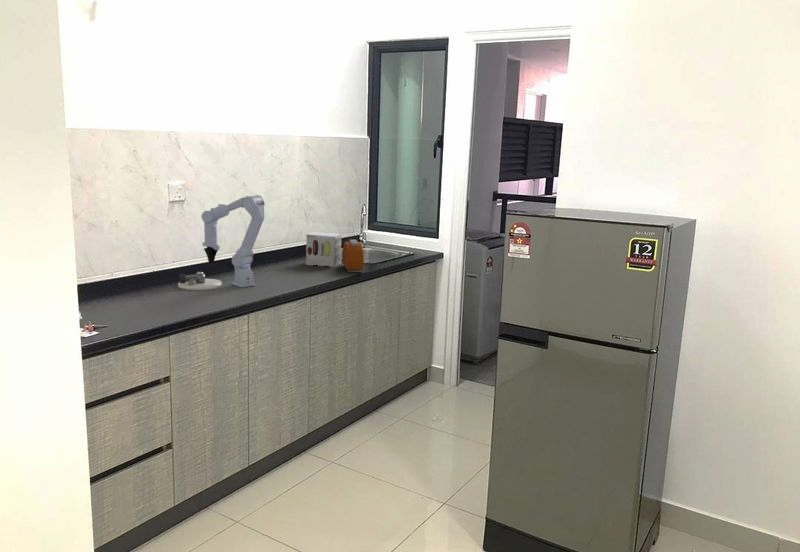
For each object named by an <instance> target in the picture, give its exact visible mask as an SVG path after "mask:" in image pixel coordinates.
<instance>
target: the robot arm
mask: <svg viewBox="0 0 800 552" xmlns="http://www.w3.org/2000/svg"><path fill="white" fill-rule="evenodd" d="M265 205H266V202H265V200H264V199H263V197H262V196H261V195H258V194H256V195H250V196H248V195H246V196H245V197H240V198H238V199H236V200H235V201H232V202H230V203H228V204H225V203H224V204H223V203H219V204H218V206H216V207H211V208H210V210H205V211H203V212H202V214H201V219H202V221H203V222H204V223H203V225H204V227H203V228H204V241H203V242H202V247H203V250H204V251H205V254H206V257H207V261H208V263H210V264H211V263H213V264H214V263H215V258H216V256H217V253H218V252H219V251H220V245H219V244H218V239H217V238H218V236H217V234H218V233H217V232H218V230H217V224H218V221H219V220H220V219H223V218H225V217H226V216H229V215H230V212H232V211H234V210H237V209H240V208H244V209H245V210H246V212H247V213H248V214H249V216H250V217H251V219H250V221H249V225H248V227H247V230H246V233H245V234H244V237H243V240H242V242H241V246H240V247H239V248H238V249H237V250H236V251H235V254H233V256H232V257H231V264H232V265H233V267H234V282H231V285H234V286H236V287H238V288H245V287H252V286H254V287H255V286H256V284H255V283H254V282H255V281H254V272H253V270H252V269H251V264H252V262H253V260H254V259H253V257H254V251H253V248H254V246H255V243H256V240H257V238H258V236H259V233H260V230H261V227H262V226H263V223H264V221H265V220H264V219H265ZM204 247H205V248H204Z"/></svg>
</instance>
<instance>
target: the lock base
mask: <svg viewBox="0 0 800 552" xmlns="http://www.w3.org/2000/svg"><path fill="white" fill-rule="evenodd" d="M222 286H223V282H222V281H221V280H220V279H216V278H215V279H214V278H205V283H196V282H195V281H194V280H193V279H190V280H188V282H186V283H180V281H179V282H178V283H177V287H178V288H179V289H180V288H181V290H184V289H185V291H197V290H198V291H211V290H216V289H219V288H221V287H222Z"/></svg>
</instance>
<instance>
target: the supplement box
mask: <svg viewBox="0 0 800 552" xmlns="http://www.w3.org/2000/svg"><path fill="white" fill-rule="evenodd" d="M305 242H306V245H305V246H306V247H305V249H306V250H305V251H306V253H305V254H306V255H305V265H306V266H313V265H318V266H317V267H324V266H329V267H328V268H336V267H338V266H339V264H340V265H341V264H342V233H339V232H324V231H323V232H322V231H312V232H309V233H306V241H305ZM337 265H338V266H337ZM335 266H336V267H335Z"/></svg>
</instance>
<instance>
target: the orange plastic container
mask: <svg viewBox="0 0 800 552" xmlns="http://www.w3.org/2000/svg"><path fill="white" fill-rule="evenodd" d="M364 256H365V255H364V247H363V244H362V242H360V241H357V239H349V240H348V241H345V242H344V243H343V246H342V253H341V263H342V265H343V267H344V266H345V267H344V268H345V269H346V270H347V271H348V272H347V271H346V272H347V273H362V271H364V264H365V258H364Z"/></svg>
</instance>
